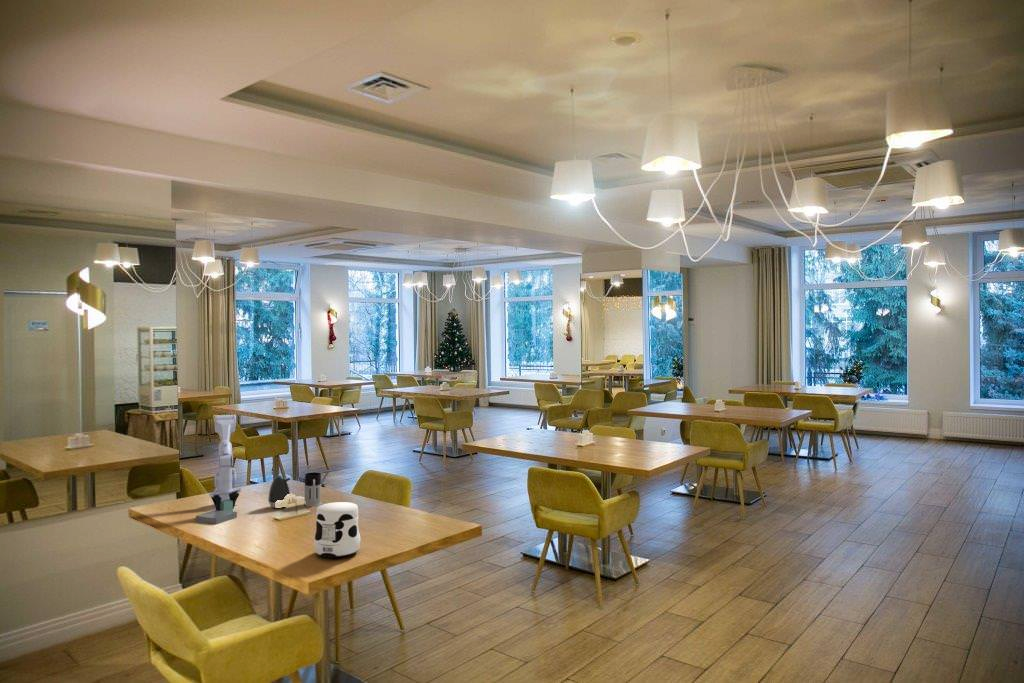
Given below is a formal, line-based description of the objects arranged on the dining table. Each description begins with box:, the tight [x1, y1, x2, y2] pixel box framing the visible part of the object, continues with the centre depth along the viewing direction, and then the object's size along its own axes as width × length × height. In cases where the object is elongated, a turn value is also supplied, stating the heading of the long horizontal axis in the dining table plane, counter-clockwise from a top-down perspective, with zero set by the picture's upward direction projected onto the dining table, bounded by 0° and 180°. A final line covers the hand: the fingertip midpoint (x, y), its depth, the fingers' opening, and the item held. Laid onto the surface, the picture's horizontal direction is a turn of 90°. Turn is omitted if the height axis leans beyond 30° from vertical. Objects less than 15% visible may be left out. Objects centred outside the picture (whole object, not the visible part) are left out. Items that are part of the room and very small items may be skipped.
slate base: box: [195, 509, 238, 525], centre depth 309 cm, size 12×12×2 cm
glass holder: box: [304, 471, 323, 508], centre depth 334 cm, size 9×14×15 cm, turn 20°
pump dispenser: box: [268, 475, 291, 509], centre depth 331 cm, size 10×10×15 cm
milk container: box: [313, 501, 362, 559], centre depth 261 cm, size 17×17×18 cm
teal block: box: [220, 499, 234, 512], centre depth 319 cm, size 4×4×6 cm
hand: (225, 509), depth 319 cm, fingers open, 6 cm apart
